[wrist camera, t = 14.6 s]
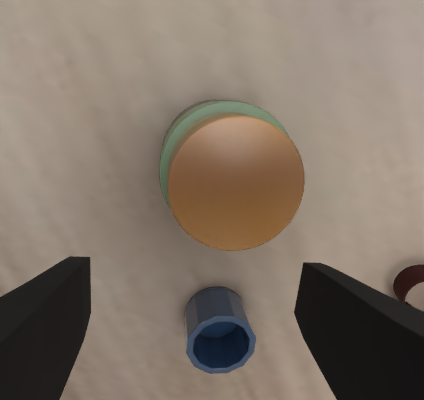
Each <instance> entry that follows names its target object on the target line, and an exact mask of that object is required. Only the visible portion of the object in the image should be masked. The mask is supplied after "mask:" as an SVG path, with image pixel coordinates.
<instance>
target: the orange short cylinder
mask: <svg viewBox="0 0 424 400" xmlns="http://www.w3.org/2000/svg"><path fill="white" fill-rule="evenodd" d="M303 191H304V169H303V164H302V160H301V157H300V155H299V152H298V150H297V148H296V147H295V145H294V144H293V142H292V141H291V139H290V138H289V137H288V136H287V135H286V134H285V133H284V132H283V131H282V130H280V129H279V128H278V127H276V126H275V125H273V124H271V123H269V122H267V121H265V120H262V119H259V118H256V117H252V116H248V115H244V114H239V113H226V112H225V113H217V114H213V115H209V116H207V117H204V118H202V119H200V120H198V121H197V122H195V123H194V124H192V125H191V126H190V127H188V128H187V129H186V130H185V131H184V132H183V133H182V135H181V136H180V137H179V139H178V140H177V142H176V143H175V145H174V147H173V149H172V152H171V154H170V158H169V163H168V175H167V193H168V200H169V204H170V207H171V210H172V212H173V214H174V217H175V218H176V220H177V222H178V223H179V225H180V226H181V227H182V228H183V229H184V231H185V232H186V233H188V234H189V235H190V236H191V237H192V238H194V239H195V240H197V241H198V242H200V243H202V244H204V245H206V246H209V247H212V248H215V249H220V250H228V251H236V250H245V249H249V248H253V247H256V246H259V245H261V244H264V243H265V242H267V241H269V240H271V239H272V238H274V237H275V236H276V235H278V234H279V233H280V232H281V231H282V230H283V229H284V228H285V227H286V226H287V225H288V224H289V223H290V221H291V220H292V218H293V217H294V215H295V213H296V211H297V210H298V208H299V205H300V202H301V200H302V196H303Z"/></svg>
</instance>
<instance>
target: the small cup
mask: <svg viewBox="0 0 424 400" xmlns="http://www.w3.org/2000/svg"><path fill="white" fill-rule="evenodd" d="M184 324H185V340H186V353H187V355H188V357H189V359H190V360H191V362H192V363H193V365H194V366H195V367H196V368H199V369H201V370H203V371H205V372H207V373H210V374H212V373H228V372H230V371H233V370H235V369H237V368H239V367H241V366H243V365H244V364H245V363H246V361H247V360H248V359H249V358H250V357H251V355H252V354H253V353H254V348H255V341H256V336H255V333H254V330H253V327H252V325H251V322H250V319H249V316H248V313H247V311H246V308H245V306H244V304H243V302H242V300H241V298H240V297H239V296H238V295H237V294H236V293H235V292H233V291H232V290H230V289H227V288H223V287H212V288H207V289H204V290H202V291H200V292H198V293H197V294H196V295H194V296H193V297H192V298H191V300H190V301H189V302H188V304H187V306H186V309H185V323H184Z"/></svg>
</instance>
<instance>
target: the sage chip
mask: <svg viewBox="0 0 424 400" xmlns="http://www.w3.org/2000/svg"><path fill="white" fill-rule="evenodd" d="M225 112H226V113H239V114H244V115H248V116H252V117H256V118H259V119H262V120H265V121H267V122H269V123H271V124H273V125H275V126H276V127H278V128H279V129H280V130H282V131H283V132H284V133H285V134H286V135H287V136H288V134H287V133H286V131H285V129H284V128H283V127H282V125H281V124H280V123H279V122H278V121H277V120H276V119H275V118H274V117H273V116H272V115H271V114H269V113H268V112H266V111H265V110H263V109H261V108H259V107H257V106H254V105H251V104H248V103H244V102H238V101H222V100H219V101H211V102H207V103H203V104H201V105H198V106H196V107H194V108H192V109H191V110H189V111H187V112H186V113H185V114H184V115H182V116H181V117H180V118H179V119H178V120H177V121H176V122H175V123H174V125H173V126H172V127H171V129H170V131H169V132H168V134H167V136H166V138H165V141H164V143H163V147H162V151H161V157H160V165H159V179H160V185H161V189H162V192H163V196H164V198H165V200H166V202H167V204H168V205H169V207H170V204H169V200H168V193H167V175H168V163H169V158H170V154H171V152H172V149H173V147H174V145H175V143H176V142H177V140H178V139H179V137H180V136H181V135H182V133H183V132H184V131H185V130H186V129H187V128H188V127H190V126H191V125H192V124H194V123H195V122H197V121H198V120H200V119H202V118H204V117H207V116H209V115H213V114H217V113H225ZM288 137H289V136H288ZM170 209H171V207H170Z"/></svg>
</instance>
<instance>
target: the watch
mask: <svg viewBox="0 0 424 400" xmlns="http://www.w3.org/2000/svg"><path fill="white" fill-rule="evenodd" d="M421 282H424V265H414V266H410V267H408V268H405V269H404V270H402V271H401V272H400V273H399V274H398V275H397V277H396V278H395V280H394V284H393V290H394V292H395V295H396V296H397V298H398V299H399V301H400V302H402V303H404V304H405V303H406V304H407V305H409V306H411V305H410V304H408V303H407V302H405V296H406V295H407V293H408V291H409V290H410V289H411V288H412V287H413V286H415V285H416V284H418V283H421ZM411 307H412V306H411Z"/></svg>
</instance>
